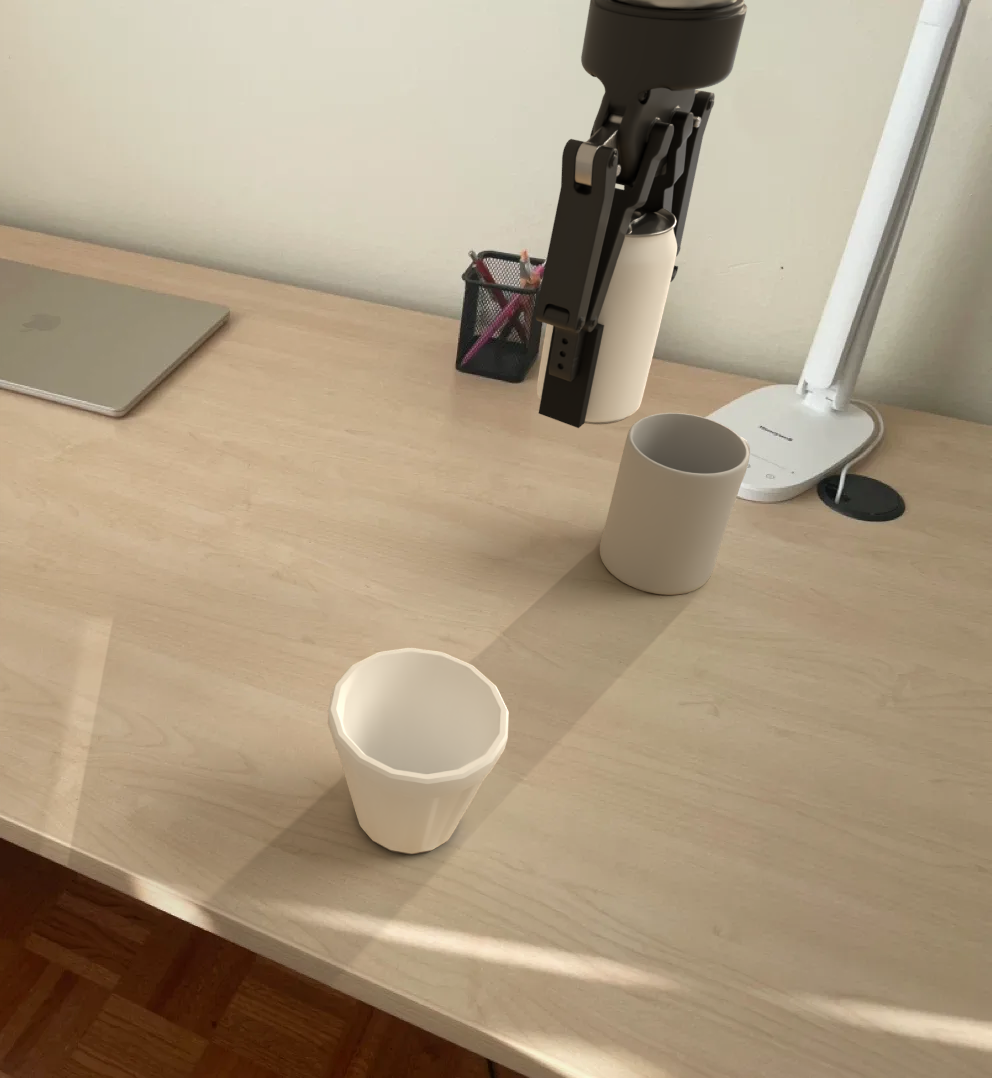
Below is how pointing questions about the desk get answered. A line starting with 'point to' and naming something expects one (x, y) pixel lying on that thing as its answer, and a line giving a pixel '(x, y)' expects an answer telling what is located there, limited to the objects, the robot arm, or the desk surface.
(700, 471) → the mug
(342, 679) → the cup
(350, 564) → the desk surface
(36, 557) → the desk surface
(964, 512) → the desk surface
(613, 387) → the can
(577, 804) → the desk surface
